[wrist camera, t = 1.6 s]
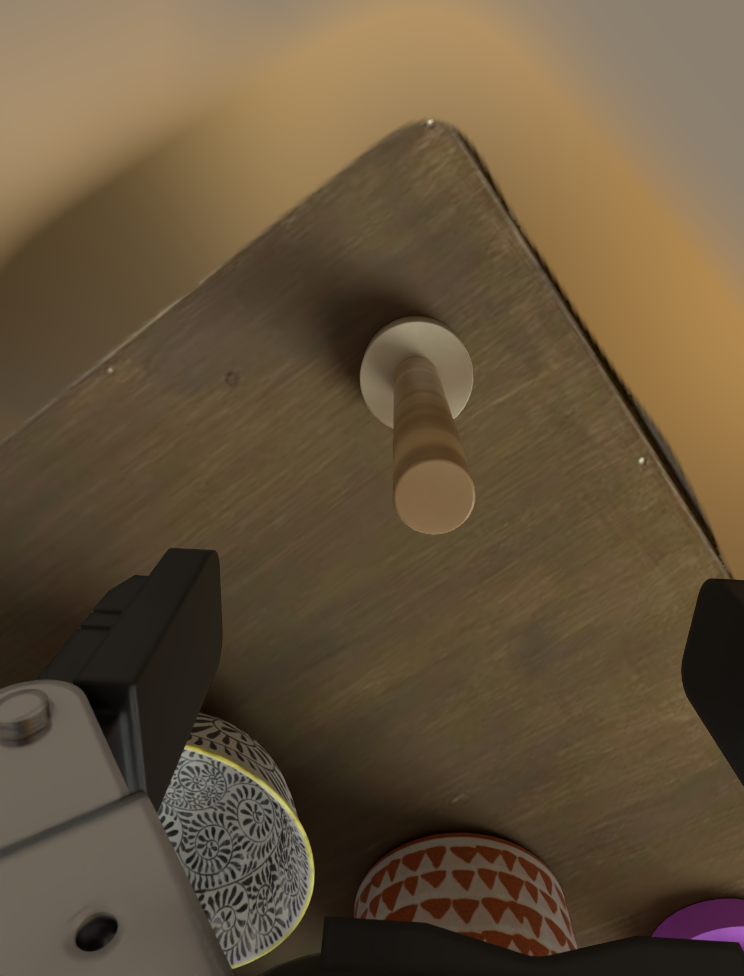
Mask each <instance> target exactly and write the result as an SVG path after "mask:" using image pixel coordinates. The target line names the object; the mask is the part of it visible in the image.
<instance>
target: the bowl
mask: <svg viewBox="0 0 744 976" xmlns="http://www.w3.org/2000/svg"><path fill="white" fill-rule="evenodd" d="M157 815H158V817H159V819H160V821H161V823H162V825H163V827H164V829H165V831H166V833H167V835H168V838H169V840H170V842H171V844H172V846H173V848H174V850H175V852H176V854H177V856H178V858H179V860H180V862H181V865H182V867H183V869H184V871H185V873H186V875H187V877H188V879H189V881H190V883H191V885H192V887H193V889H194V891H195V894H196V896H197V898H198V900H199V902H200V904H201V906H202V908H203V910H204V912H205V914H206V916H207V918H208V920H209V923H210V925H211V927H212V929H213V931H214V933H215V935H216V937H217V939H218V941H219V943H220V945H221V947H222V949H223V952H224V954H225V956H226V958H227V960H228V962H229V964H230V966H231V968H232V969H234V968H237V967H240V966H242V965H245V964H248V963H250V962H252V961H254V960H256V959H258V958H260V957H262V956H263V955H265V954H267V953H268V952H270V951H272V950H273V949H274V948H276V947H277V946H278V945H279V944H281V943H282V942H283V941H284V940H285V939H286V938H287V937H288V936H289V935H290V934H291V933H292V932H293V931H294V929H295V928H296V927H297V925H298V924H299V922H300V921H301V919H302V918H303V916H304V914H305V912H306V910H307V908H308V905H309V903H310V900H311V896H312V892H313V887H314V874H315V870H314V859H313V855H312V850H311V847H310V843H309V840H308V838H307V835H306V833H305V831H304V829H303V826H302V824H301V823H300V821H299V819H298V816H297V812H296V809H295V805H294V802H293V799H292V796H291V793H290V790H289V788H288V786H287V783H286V781H285V779H284V777H283V775H282V773H281V772H280V770H279V768H278V767H277V765H276V764H275V762H274V761H273V759H272V758H271V757H270V755H269V754H268V753H267V752H266V751H265V749H264V748H263V747H262V746H261V745H260V744H259V743H258V742H256V741H255V740H254V739H253V738H252V737H251V736H249V735H248V734H246V733H245V732H244V731H242V730H241V729H239V728H238V727H236V726H234V725H233V724H231V723H228V722H226V721H224V720H222V719H220V718H217V717H214V716H211V715H208V714H205V713H201V712H199V714H198V717H197V719H196V721H195V724H194V726H193V729H192V731H191V733H190V736H189V738H188V741H187V743H186V745H185V748H184V750H183V753H182V755H181V758H180V760H179V762H178V765H177V767H176V770H175V772H174V774H173V777H172V779H171V782H170V784H169V787H168V789H167V791H166V794H165V796H164V799H163V801H162V803H161V806H160V808H159V811H158V813H157Z"/></svg>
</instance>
